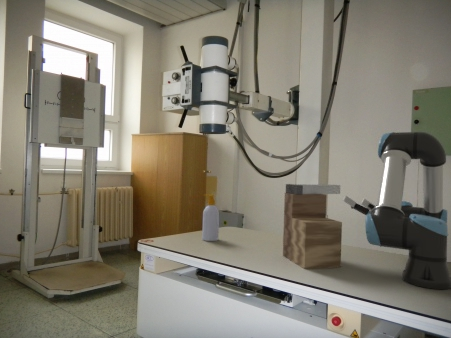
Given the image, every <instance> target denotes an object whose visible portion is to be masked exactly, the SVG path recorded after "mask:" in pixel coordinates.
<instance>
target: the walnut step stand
mask: <svg viewBox="0 0 451 338" xmlns="http://www.w3.org/2000/svg"><path fill="white" fill-rule="evenodd" d="M283 204H284V207H283V240H282V243H283V244H282V257H284V258H285V259H288V260H289V261H291V262H292V263H294V264H296V265H298V266H299V267H300V268H302V269H304V270H309V269H312V270H313V269H326V268H327V269H328V268H329V267H332V268H341V267H342V266H341V264H342V233H343V222H342V221H339V220H335V219H332V218H327V194H303V195H295V194H288V193H286V192H284V203H283ZM329 269H330V268H329Z"/></svg>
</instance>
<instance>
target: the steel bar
mask: <svg viewBox="0 0 451 338" xmlns="http://www.w3.org/2000/svg"><path fill="white" fill-rule="evenodd" d="M285 193H288V194H295V195H303V194H325V195H340V194H341V184H292V183H286V184H285Z"/></svg>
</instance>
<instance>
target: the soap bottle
mask: <svg viewBox="0 0 451 338" xmlns="http://www.w3.org/2000/svg"><path fill="white" fill-rule="evenodd" d="M202 196H206V197H209V198H208V200H207V206H205V208H204V209H203V211H202V230H201V231H202V234H201V235H202V236H201V239H202V241H206V242H216V241H218V240H219V233H220V231H219V230H220V225H219V223H220V210H219V209H218V208H217V206H215V201H216V200H215V198H214V197H215V196H214V194H205V193H204V194H202Z"/></svg>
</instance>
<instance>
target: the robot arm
mask: <svg viewBox="0 0 451 338" xmlns="http://www.w3.org/2000/svg"><path fill="white" fill-rule="evenodd" d="M377 154H378V155H377V156H378V158H379V159H380V161H381V162H382V163H383V168H382V173H381V180H380V185H379V191H378V198H377V204H376V205H374V203H372V202H370V201H369V200H367V199H366V198H364V197H363V198H362V201H361V202H360V204H359V203H357V202H356V201H355V200H353V198H352V199H351V197H349V196H347V195H344V196H343V198H342V201H343V203H346V204H348V205H349V206H350V208H351V209H353V210H355V211H357V212H359V213H361V214H362V215H365V219H364V222H365V226H364V227H365V236H366V240H367V243H368V244H370V245H373V246H378V247H380V248H381V247H384V248H389V249H390V248H391V249H399V250H406V251H408V259H407V261H406V264H405V267H404V270H403V271H402V280H403V281H405V282H406V283H408V284H411V285H414V286H417V287H421V288H425V289H434V290H449V289H451V274H450V271H449V267H448V263H447V261H448V259H447V258H448V257H447V256H448V237H449V232H448V210H447V209H445V208H443V205H444V204H443V199H444V198H443V197H444V196H443V194H444V165H446V163H447V153H446V150H445V148H444V145H443V144H442V142H441V141H440V140H439V138H437V137H435V135H433V134H431V133H429V132H425V131H408V132H394V131H393V132H387V133H384V134H382V135H381V136H380V139H379V141H378V147H377ZM412 160H419V164H420V165H422V186H423V187H422V193H423V195H422V196H423V207H419V206H413V204H412V203H411V202H410V201H406V200H403V196H404V188H405V180H406V172H407V166H408V165H410V164H411V162H412Z"/></svg>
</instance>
